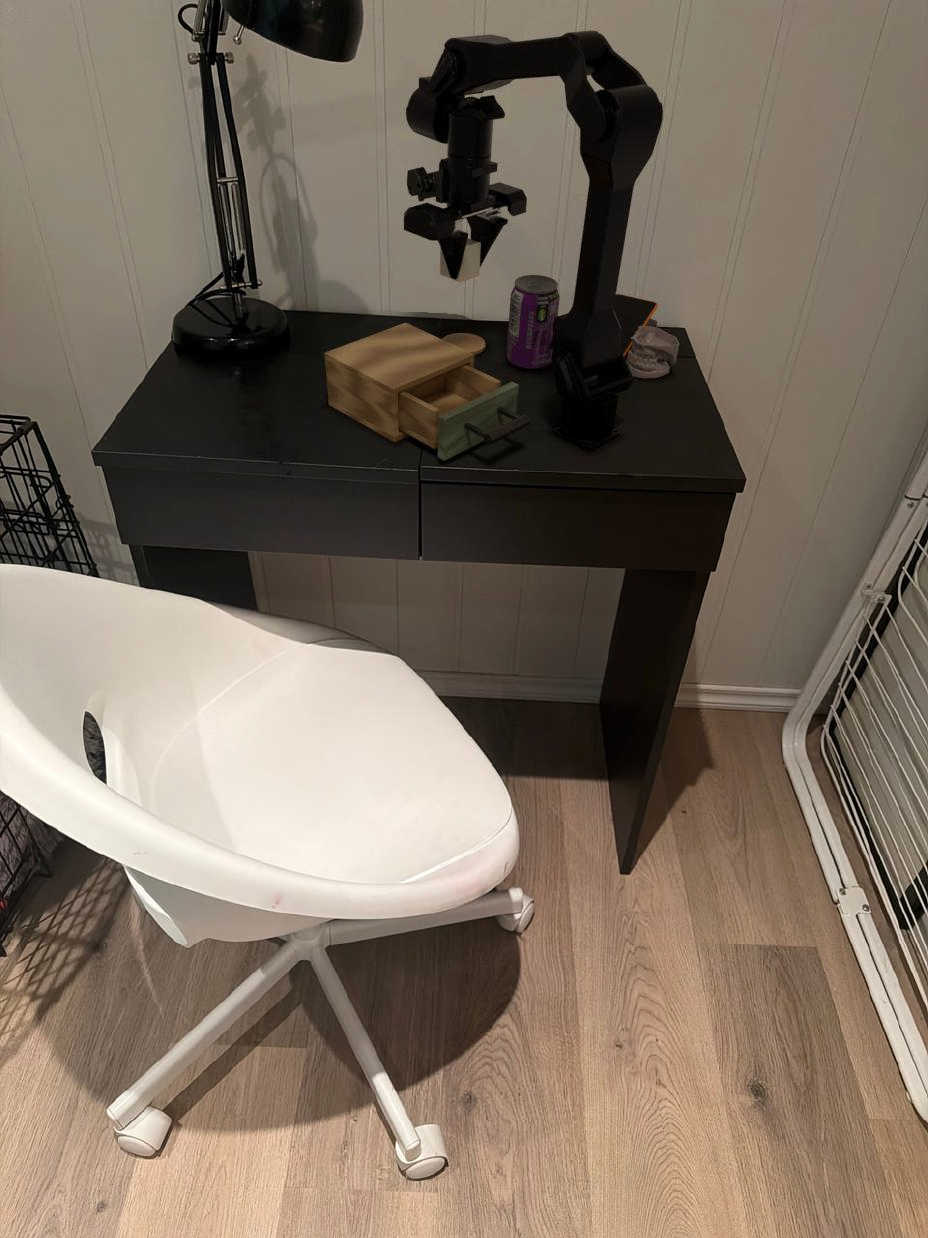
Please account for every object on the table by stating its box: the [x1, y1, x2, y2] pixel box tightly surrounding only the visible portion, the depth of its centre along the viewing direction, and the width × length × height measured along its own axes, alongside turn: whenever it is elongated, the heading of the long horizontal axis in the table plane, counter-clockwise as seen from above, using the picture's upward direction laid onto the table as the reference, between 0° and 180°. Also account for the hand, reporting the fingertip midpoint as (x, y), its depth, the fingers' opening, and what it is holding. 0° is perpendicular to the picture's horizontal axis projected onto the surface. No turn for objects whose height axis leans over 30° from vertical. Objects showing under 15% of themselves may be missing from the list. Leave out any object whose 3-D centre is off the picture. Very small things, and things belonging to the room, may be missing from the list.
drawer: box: [398, 364, 531, 462], centre depth 109 cm, size 17×13×6 cm
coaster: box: [441, 332, 486, 356], centre depth 132 cm, size 7×7×1 cm
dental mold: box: [626, 326, 680, 379], centre depth 126 cm, size 8×7×5 cm
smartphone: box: [614, 293, 659, 358], centre depth 129 cm, size 8×17×1 cm, turn 147°
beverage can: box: [505, 274, 560, 370], centre depth 124 cm, size 7×7×12 cm
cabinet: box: [323, 322, 475, 443], centre depth 115 cm, size 14×15×8 cm
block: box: [439, 237, 481, 283], centre depth 119 cm, size 4×4×4 cm
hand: (464, 274), depth 120 cm, fingers closed on block, 4 cm apart
